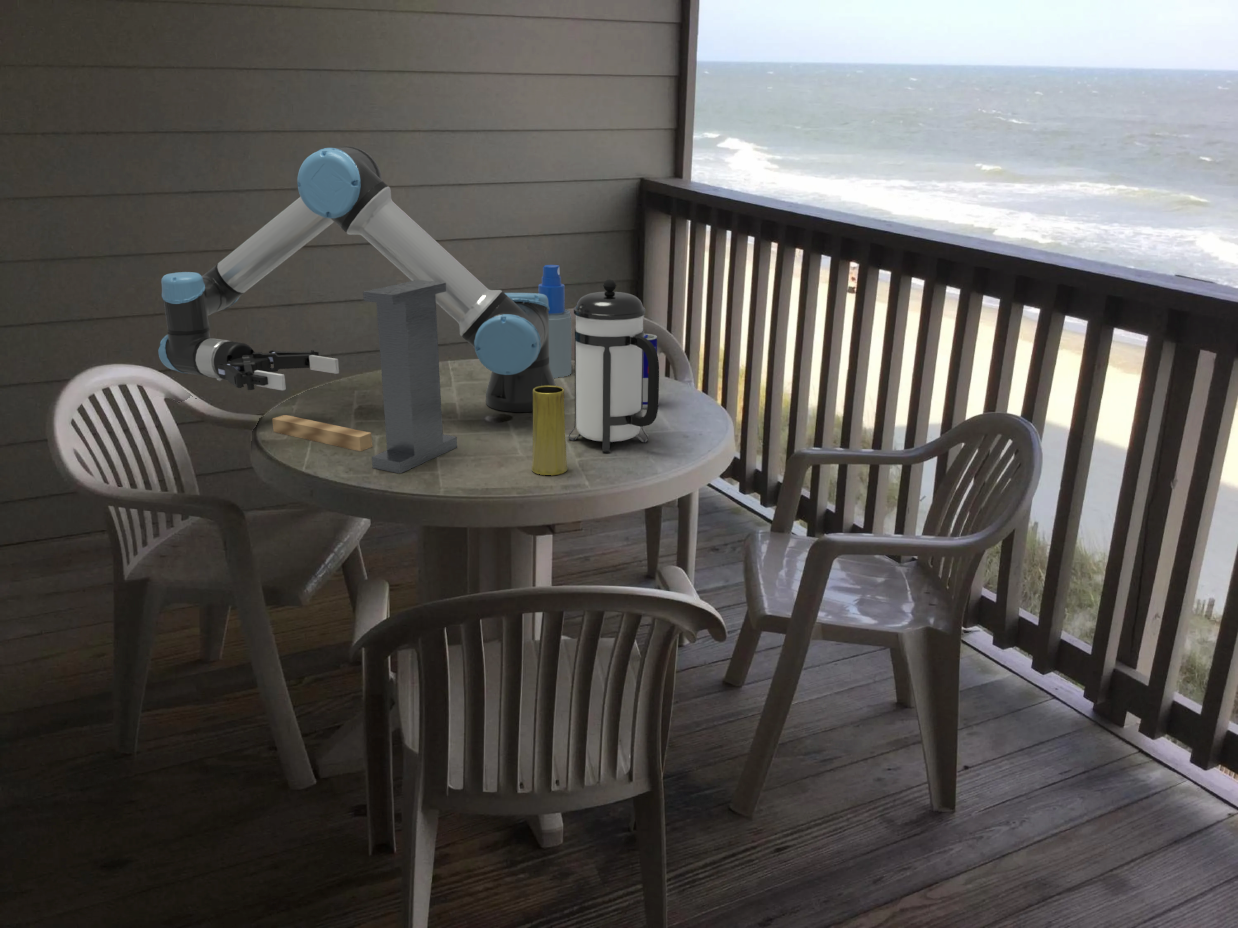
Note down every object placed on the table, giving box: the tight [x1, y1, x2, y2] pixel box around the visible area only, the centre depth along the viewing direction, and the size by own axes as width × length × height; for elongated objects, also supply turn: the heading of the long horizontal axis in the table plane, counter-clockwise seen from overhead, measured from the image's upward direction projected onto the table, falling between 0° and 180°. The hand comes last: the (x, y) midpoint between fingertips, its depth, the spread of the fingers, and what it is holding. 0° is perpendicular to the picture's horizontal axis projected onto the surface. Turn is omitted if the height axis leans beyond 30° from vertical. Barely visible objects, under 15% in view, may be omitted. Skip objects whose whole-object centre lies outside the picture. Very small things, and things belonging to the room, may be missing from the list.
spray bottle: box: [537, 264, 572, 379], centre depth 228 cm, size 9×9×25 cm
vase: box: [531, 385, 568, 477], centre depth 167 cm, size 6×6×14 cm
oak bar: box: [271, 414, 373, 452], centre depth 184 cm, size 22×3×3 cm, turn 60°
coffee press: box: [568, 278, 660, 454], centre depth 180 cm, size 17×16×30 cm
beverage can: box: [641, 333, 658, 410], centre depth 205 cm, size 5×5×15 cm
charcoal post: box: [362, 280, 458, 474], centre depth 170 cm, size 6×16×30 cm, turn 152°
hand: (311, 374), depth 181 cm, fingers open, 13 cm apart
